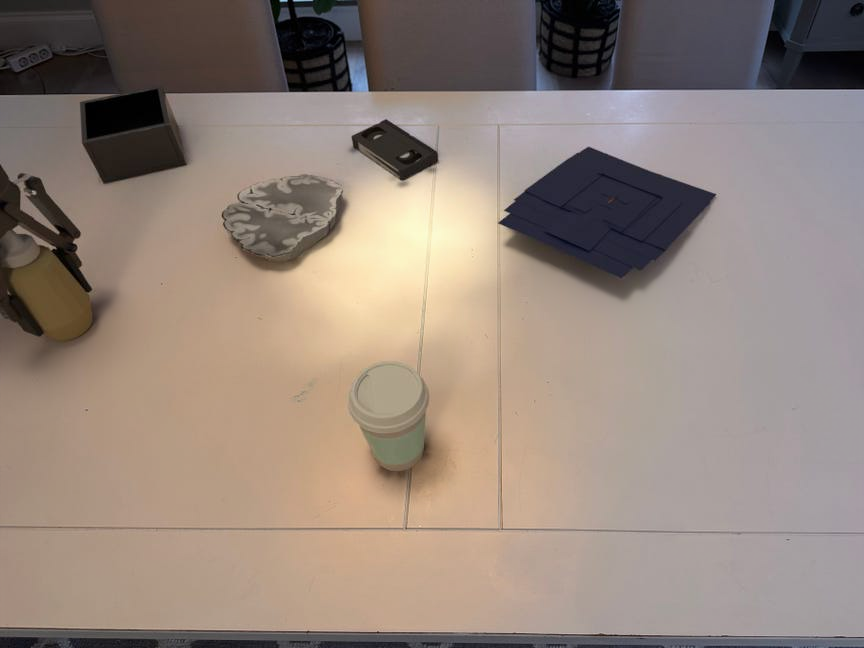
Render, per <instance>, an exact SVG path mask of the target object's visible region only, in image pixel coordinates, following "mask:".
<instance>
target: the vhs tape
mask: <svg viewBox="0 0 864 648" xmlns="http://www.w3.org/2000/svg"><path fill="white" fill-rule="evenodd" d="M351 141H352V147H353V148H354V149H355V150H357V151H359V153H361V154H363V155H364V156H366V157H367V158H369V159H370V160H371V161H373V162H374V163H375V164H377V165H378V166H380V167H381V168H382V169H384V170H386V171H387V172H388V173H390V174H391V175H393V176H394V177H396V178H397V179H398V180H400V181H405V180H407V179H409V178H410V177H412V176H414V175H417V174H418V173H421V172H422V171H424V170H425V169H428V168H429V167H431V166H433V165H435V164H437V163H439V154H438V151H437V150H435V149H433V147H431V146H430V145H428V144H426V143H424V142H423V141H421V140H420V139H419V138H417V137H415V136H414V135H411V134H410V133H409V132H407V131H405V130H404V129H402V128H401V127H400V126H398V125H396V124H395V123H393V122H391V121H390V120H389V119H387V118H386V119H384V120H381V121H379V123H375V124H374V125H371V126H369V127H367V128H365V129H363V130H361V131H358V132H357V133H355V134H352V135H351Z"/></svg>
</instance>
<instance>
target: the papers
mask: <svg viewBox="0 0 864 648" xmlns="http://www.w3.org/2000/svg"><path fill="white" fill-rule="evenodd" d="M716 196H717V193H715V192H711V191H709V190H706V189H703V188H700V187H697V186H694V185H691V184H689V183H685V182H683V181H681V180H677V179H673V178H672V177H668V176H666V175H663V174H661V173H657V172H654V171H651V170H648V169H646V168H643V167H641V166H638V165H635V164H633V163H631V162H628V161H626V160H623V159H622V158H621V159H620V158H618V157H616V156H614V155H611V154H608V153H606V152H603V151H601V150H599V149H596V148H593V147H592V146H587V147H585V148H584V149H582V150H581V151H579V152H576V153H575V154H574V155H572V156H570V157H568V158H566V159H565V160H564V161H563V162H561V163H560V164H559V165H557V166H556V167H554V168H553V169H551V170H550V171H549V172H548V173H546V174H545V175H543V176H542V177H541V178H539V179H538V180H536V181H535V182H533V184H531V185H530V186H528V187H526V188H525V189H524V191H523V192H522V193H520V194H519V195H517V197H515V198H514V199H513V202H512V203H511V204H510V205H509V206H507V207H506V208H505V209H503V211H504V212H506V213H508V215H506V216H505V217H504V218H502V219H501V220H499V221H497V224H498V225H500V226H503V227H504V228H508V229H509V230H513V231H514V232H517V233H519V234H521V235H523V236H526V237H528V238H529V239H530V238H531V239H533V240H534V241H537V242H540V243H542V244H543V245H546V246H549V247H550V248H553V249H554V250H555V249H556V250H558V251H560V252H562V253H564V254H567V255H568V256H571V257H573V258H575V259H577V260H580V261H581V262H584V263H585V264H588V265H590V266H592V267H594V268H597V269H598V270H601V271H603V272H605V273H607V274H610V275H612V276H614V277H616V278H618V279H621V280H622V279H624V278H625V276H626V275H628V274H629V273H630V272H631V271H632V270H633V269H636V270H638V271H641V272H642V270H643V269H644V268H646V267H647V266H648V265H649V264H650V263H651V261H656V260H657V259H658V258H660V257H661V255H663V254H664V253H665V252H666V251H667V250H668V248H669V247H670V246H671V245H672V244H673V243H674V242H675V241H676V240H677V239H678V238H679V237H680V236H681V235H682V234H683V232H685V231H686V229H687V228H688V227H689V226H690V225H691V224H692V223H693V222H695V220H696V219H697V218H698V217H699V216H700V214H701V213H703V212H704V211H705V210H706V208H707V207H708V206H709V205H710V204H711V203H712V201H713V200H714V199H715V197H716Z"/></svg>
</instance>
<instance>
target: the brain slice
mask: <svg viewBox="0 0 864 648" xmlns="http://www.w3.org/2000/svg"><path fill="white" fill-rule="evenodd" d="M343 189H344V186H342V184H340V183H339V182H336V181H334V180H332V179H330V178H329V179H328V178H324V177H321V176H317V175H313V174H307V173H301V174H299V175H293V176H284V177H281V178H272V179H269V180H266V181H262V182H257V183H255V184H252V185H250V186H249V187H247V188H246V187H245V188H244V189H242V190H240V191H239V192H238V194H237V195H236V196H237V200H238V201H239V202H234V203H232V204H229V205H228V206H227V207H226V209H224V210H223V211H222V212H221V218H222V219H223V220H224V221H223V222H222V226H223V228H224V229H225V231H227V232H229V233H230V236H231V238H232V239H233V240H235V242H236V243H237V244H238V245H239V246H240V248H241V249H242V250H243V251H245V252H246V253H248V254H250V255H252V256H256V257H258V258H263V259H267V260H268V261H270V262H276V263H277V262H281V263H282V262H288V261H291V260H295V259H297V258H298V257H299V256H300V255H301V254H303V253H304V252H306V251H308V250H309V249H310V248H311V247H314V246H315V245H317V243H319V242H320V240H322V239H324V237H326V235H328V233H329V231H331V229H332V228H334V225H335V224H336V219H337V214H338V212H339V206H340V205H341V203H342V199H343V191H344V190H343Z"/></svg>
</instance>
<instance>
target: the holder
mask: <svg viewBox="0 0 864 648" xmlns="http://www.w3.org/2000/svg"><path fill="white" fill-rule="evenodd" d="M79 111H80V114H79V115H80V131H81V133H80V134H81V143H82V146H83V148H84V150H85V152H86V153H87V156H88V157H89V159H90V161H91V163H92V165H93V166H94V169H95V171H96V172H97V174H98V176H99V178H100V180H101V182H102V184H103V185H104V184H109V183H113V182H118V181H122V180H126V179H130V178H131V179H132V178H135V177H139V176H145V175H148V174H152V173H158V172H162V171H165V170H171V169H174V168H180V167H183V166H187V161H186V157H185V152H184V147H183V143H182V138H181V134H180V128H179V125H178V123H177V122H178V121H177V119H176V118H175V115H174V113H173V110H172V108H171V105H170V102H169V100H168V97H167V95H166V92H165V90H164V87H163V85H156V86H152V87H148V88H147V87H146V88H143V89H137V90H132V91H127V92H122V93H117V94H112V95H108V96H102V97H96V98H92V99H87V100H83V101H82V100H81V101H79Z"/></svg>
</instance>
